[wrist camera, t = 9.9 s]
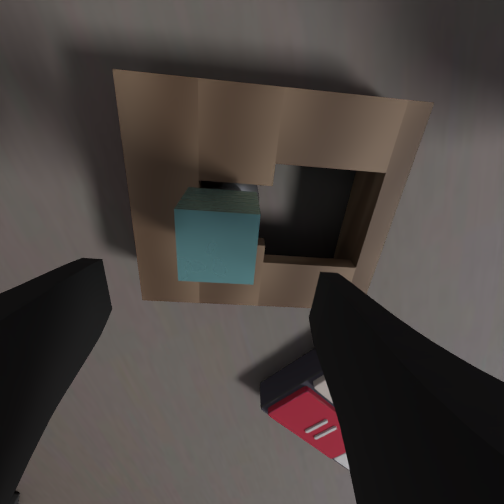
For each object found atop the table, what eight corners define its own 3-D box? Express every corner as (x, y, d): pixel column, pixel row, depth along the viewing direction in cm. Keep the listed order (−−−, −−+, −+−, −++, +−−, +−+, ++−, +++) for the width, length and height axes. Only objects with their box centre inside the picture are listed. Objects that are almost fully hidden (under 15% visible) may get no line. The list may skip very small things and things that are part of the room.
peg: (260, 163, 17) (272, 205, 10) (255, 222, 19) (261, 292, 12) (196, 158, 17) (161, 197, 10) (197, 218, 19) (169, 287, 12)
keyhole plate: (391, 103, 16) (434, 102, 12) (341, 276, 21) (360, 310, 18) (143, 77, 15) (112, 69, 11) (159, 266, 20) (142, 300, 17)
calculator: (362, 355, 21) (450, 439, 26) (345, 318, 25) (424, 397, 30) (258, 416, 24) (353, 481, 29) (257, 376, 28) (341, 438, 33)
